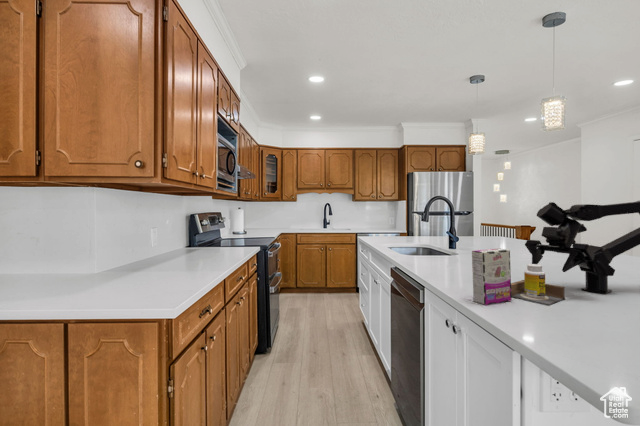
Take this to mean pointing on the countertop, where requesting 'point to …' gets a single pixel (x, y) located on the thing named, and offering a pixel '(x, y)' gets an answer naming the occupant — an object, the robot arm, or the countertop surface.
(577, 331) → the countertop surface
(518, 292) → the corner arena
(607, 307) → the countertop surface
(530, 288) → the supplement bottle
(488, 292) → the candy bar box
